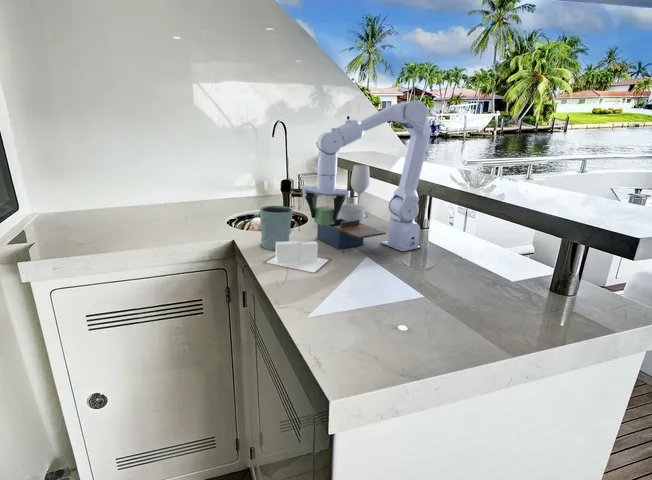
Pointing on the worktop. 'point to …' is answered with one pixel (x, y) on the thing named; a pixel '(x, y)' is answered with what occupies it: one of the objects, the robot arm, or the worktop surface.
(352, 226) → the tin lid
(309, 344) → the worktop surface
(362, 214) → the teacup
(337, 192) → the robot arm
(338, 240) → the tin
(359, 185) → the wineglass
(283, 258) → the twin cubes on base
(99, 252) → the worktop surface
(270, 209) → the teal plant pot
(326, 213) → the block
